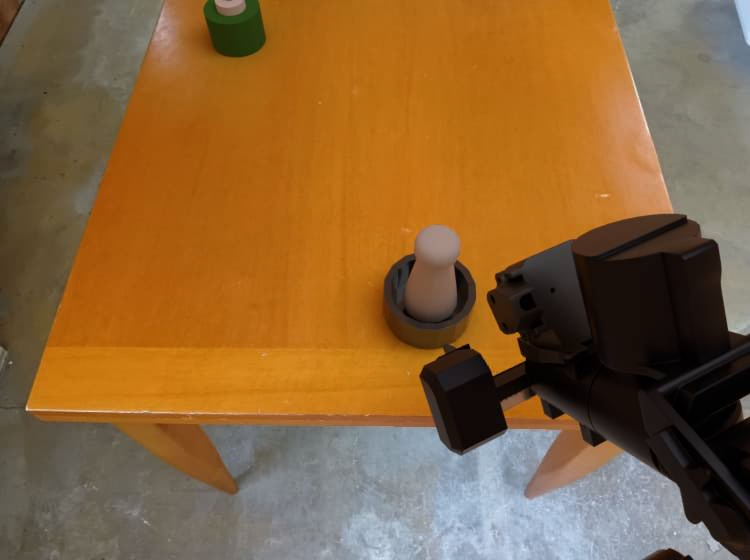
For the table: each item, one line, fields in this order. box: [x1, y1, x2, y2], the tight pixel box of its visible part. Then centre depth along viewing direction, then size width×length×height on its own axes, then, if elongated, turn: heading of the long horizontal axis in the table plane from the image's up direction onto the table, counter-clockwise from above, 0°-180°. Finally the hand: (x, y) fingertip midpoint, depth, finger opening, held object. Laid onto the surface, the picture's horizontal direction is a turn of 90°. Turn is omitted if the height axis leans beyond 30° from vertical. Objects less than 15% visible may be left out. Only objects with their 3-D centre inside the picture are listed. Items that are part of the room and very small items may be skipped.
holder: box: [382, 252, 477, 350], centre depth 61 cm, size 10×10×4 cm
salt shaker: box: [403, 224, 462, 323], centre depth 57 cm, size 6×6×13 cm
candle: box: [202, 0, 267, 58], centre depth 84 cm, size 8×8×10 cm
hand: (494, 328), depth 47 cm, fingers open, 9 cm apart
